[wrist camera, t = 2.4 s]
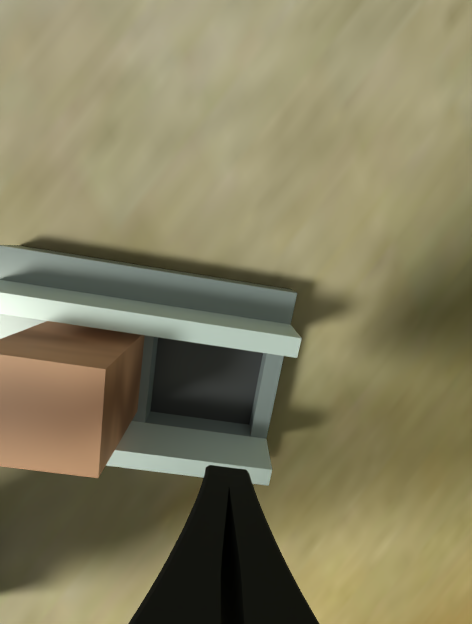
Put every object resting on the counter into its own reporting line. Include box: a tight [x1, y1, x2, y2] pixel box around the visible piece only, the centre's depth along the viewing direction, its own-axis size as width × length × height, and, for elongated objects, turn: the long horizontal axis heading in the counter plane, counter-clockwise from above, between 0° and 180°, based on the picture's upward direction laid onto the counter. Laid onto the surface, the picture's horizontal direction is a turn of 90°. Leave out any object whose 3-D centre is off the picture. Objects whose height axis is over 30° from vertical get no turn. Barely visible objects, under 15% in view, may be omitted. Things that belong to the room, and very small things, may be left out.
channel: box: [0, 245, 302, 486], centre depth 16 cm, size 12×16×4 cm
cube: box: [0, 321, 145, 478], centre depth 14 cm, size 5×5×5 cm
